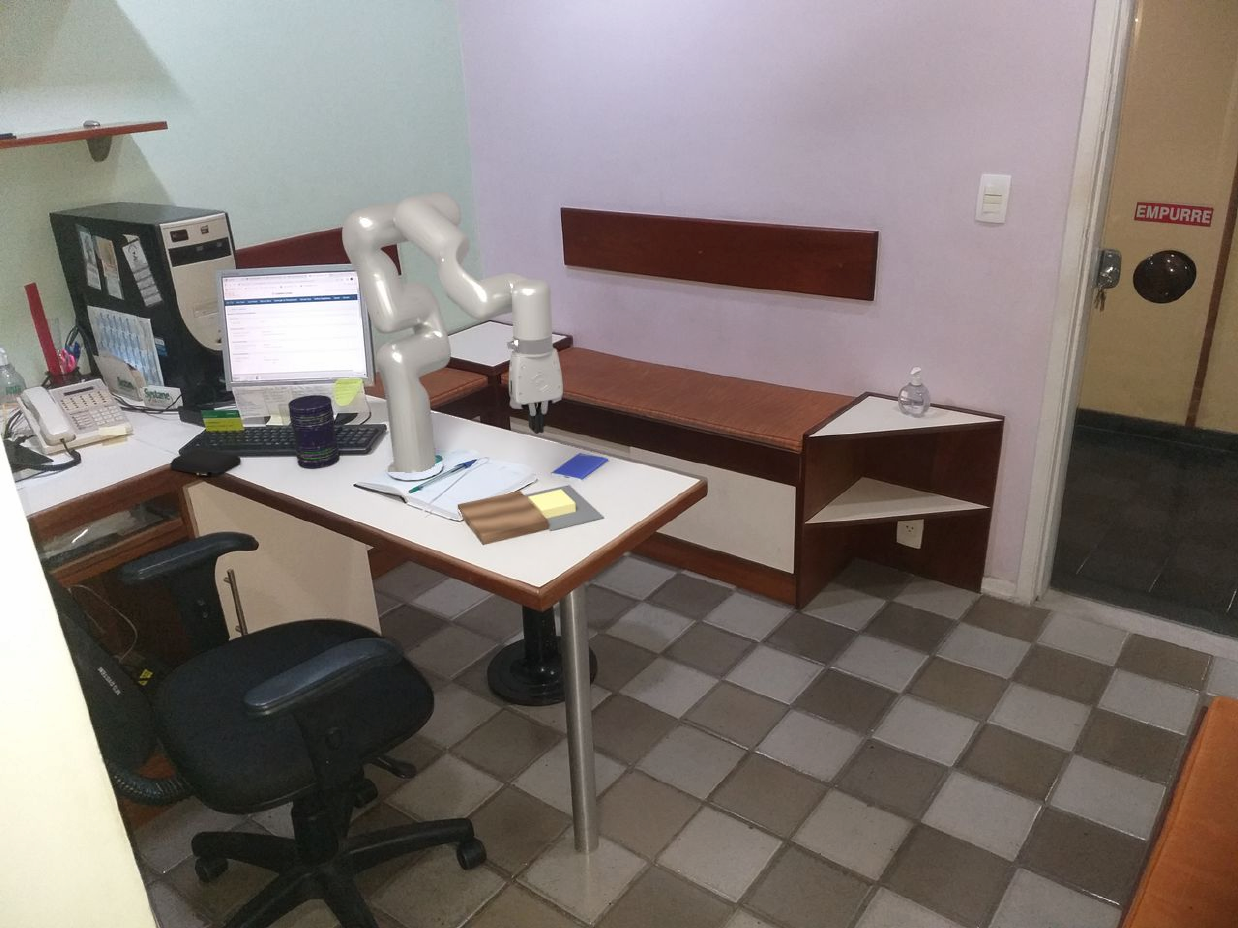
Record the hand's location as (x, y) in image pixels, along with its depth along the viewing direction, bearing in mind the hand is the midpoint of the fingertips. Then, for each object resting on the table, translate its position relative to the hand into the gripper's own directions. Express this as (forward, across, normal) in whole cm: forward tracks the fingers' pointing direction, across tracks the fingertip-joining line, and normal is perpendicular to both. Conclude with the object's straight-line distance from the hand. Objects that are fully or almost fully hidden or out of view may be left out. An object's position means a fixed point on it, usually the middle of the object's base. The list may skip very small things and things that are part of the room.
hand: (537, 431), depth 197 cm
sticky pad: (+18, +2, 0) cm, 18 cm away
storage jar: (+19, -37, +50) cm, 65 cm away
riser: (+18, -9, 0) cm, 20 cm away
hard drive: (+19, +16, +16) cm, 30 cm away
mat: (+18, +4, 0) cm, 19 cm away
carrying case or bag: (+20, -62, +60) cm, 88 cm away
